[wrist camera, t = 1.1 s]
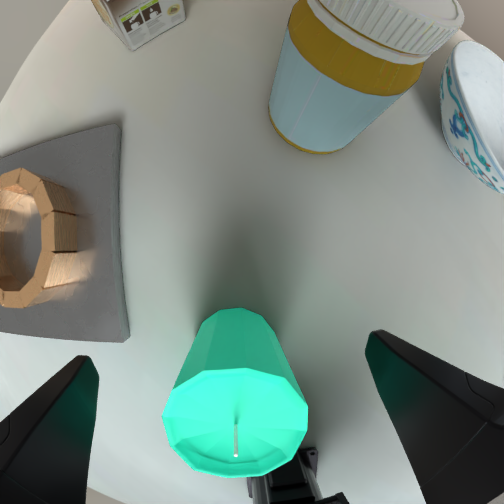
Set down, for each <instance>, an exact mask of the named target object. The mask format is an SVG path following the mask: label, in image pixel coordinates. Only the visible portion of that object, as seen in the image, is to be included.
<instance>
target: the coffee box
mask: <svg viewBox="0 0 504 504" xmlns="http://www.w3.org/2000/svg"><path fill="white" fill-rule="evenodd" d="M91 1H92V3H93V5H94V6H95V8H96V10H97V12H98V14H99V15H100V17H101V19H102V20H103V22H104V23H105V24H106V25H107V26H108V27H109V28H110V29H111V30H112V31H113V32H114V33H115V34H116V35H117V36H118V37H119V38H120V39H121V40H122V42H123V43H124V44H125V45H126V46H127V47H128V48H129V49H130V50H131V51H134V50H136V49H137V48H139V47H140V46H142V45H143V44H145V43H146V42H148V41H150V40H151V39H153V38H154V37H156V36H158V35H159V34H161V33H163V32H165V31H166V30H168V29H170V28H172V27H173V26H175V25H177V24H179V23H181V22H183V21H184V20H185V19H186V16H185V11H184V5H183V0H91Z"/></svg>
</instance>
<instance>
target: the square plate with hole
mask: <svg viewBox="0 0 504 504" xmlns="http://www.w3.org/2000/svg"><path fill="white" fill-rule="evenodd" d="M120 144H121V130H120V129H119V128H118V127H117V126H116V124H115V123H114V124H110V125H105V126H101V127H97V128H93V129H89V130H85V131H81V132H78V133H74V134H70V135H67V136H64V137H60V138H57V139H54V140H51V141H48V142H44V143H41V144H39V145H36V146H33V147H30V148H27V149H25V150H22V151H19V152H17V153H14V154H12V155H9V156H7V157H4V158H2V159H0V332H5V333H11V334H19V335H26V336H35V337H44V338H54V339H65V340H78V341H94V342H118V343H123V342H124V341H126V340H127V339H128V338H129V337H130V333H129V326H128V320H127V313H126V305H125V297H124V288H123V277H122V266H121V252H120V233H119V162H120Z"/></svg>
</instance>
